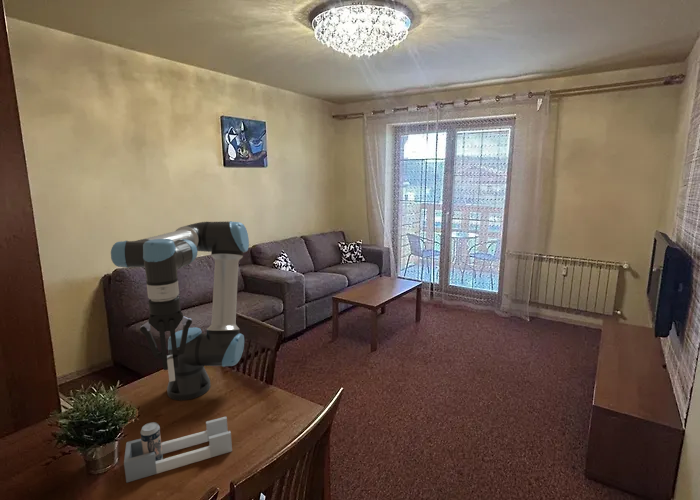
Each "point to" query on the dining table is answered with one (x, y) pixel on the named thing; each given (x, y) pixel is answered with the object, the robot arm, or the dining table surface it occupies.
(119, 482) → the dining table surface
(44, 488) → the dining table surface
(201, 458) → the end-cap channel
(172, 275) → the robot arm
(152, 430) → the beer can
